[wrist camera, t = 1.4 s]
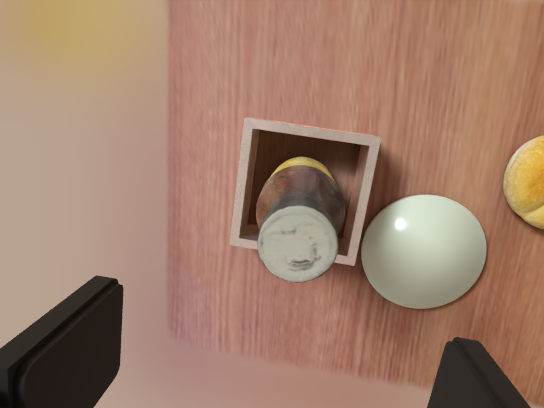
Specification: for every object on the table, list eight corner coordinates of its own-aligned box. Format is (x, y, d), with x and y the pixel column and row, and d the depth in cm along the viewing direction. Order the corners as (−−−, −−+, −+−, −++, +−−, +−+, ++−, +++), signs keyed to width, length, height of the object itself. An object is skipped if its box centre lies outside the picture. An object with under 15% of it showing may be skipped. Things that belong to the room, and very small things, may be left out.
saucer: (497, 204, 36) (501, 206, 35) (464, 313, 39) (468, 317, 38) (373, 185, 37) (375, 186, 36) (350, 294, 39) (351, 297, 39)
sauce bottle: (319, 223, 38) (329, 333, 19) (262, 202, 38) (214, 289, 19) (343, 164, 36) (383, 218, 17) (284, 142, 36) (257, 170, 17)
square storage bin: (371, 134, 35) (381, 137, 31) (348, 247, 38) (354, 265, 33) (253, 117, 36) (244, 117, 31) (239, 228, 39) (229, 244, 34)
